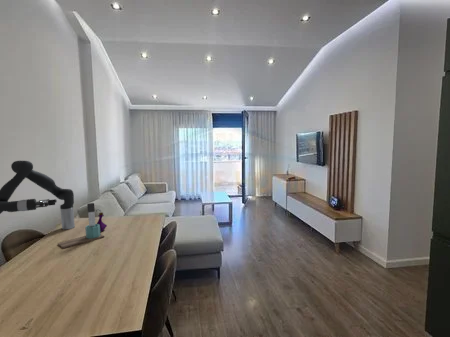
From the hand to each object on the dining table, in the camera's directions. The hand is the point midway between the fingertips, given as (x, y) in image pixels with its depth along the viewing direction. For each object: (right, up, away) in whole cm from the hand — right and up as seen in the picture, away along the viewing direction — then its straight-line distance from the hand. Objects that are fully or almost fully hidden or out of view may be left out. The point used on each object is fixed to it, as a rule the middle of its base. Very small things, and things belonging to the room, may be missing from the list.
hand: (55, 202), depth 179 cm
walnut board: (+14, -29, +7) cm, 33 cm away
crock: (+20, -27, +13) cm, 36 cm away
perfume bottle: (+17, -27, +28) cm, 43 cm away
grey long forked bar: (+20, -26, +13) cm, 35 cm away
